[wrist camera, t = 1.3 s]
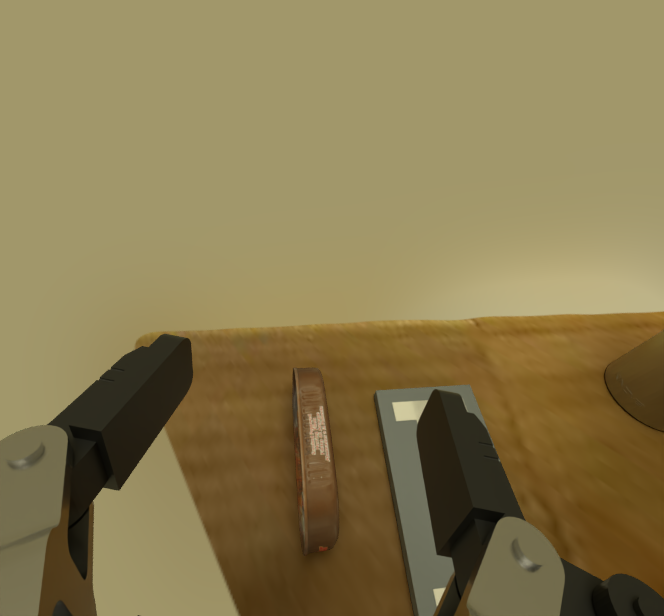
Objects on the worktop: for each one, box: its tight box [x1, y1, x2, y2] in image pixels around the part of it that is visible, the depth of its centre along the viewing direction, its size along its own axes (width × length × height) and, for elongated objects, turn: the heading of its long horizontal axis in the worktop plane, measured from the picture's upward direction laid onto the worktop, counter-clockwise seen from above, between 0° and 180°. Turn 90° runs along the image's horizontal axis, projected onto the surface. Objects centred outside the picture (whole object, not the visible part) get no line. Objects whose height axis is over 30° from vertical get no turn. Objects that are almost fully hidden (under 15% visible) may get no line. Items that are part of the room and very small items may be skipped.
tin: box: [293, 368, 339, 556], centre depth 27 cm, size 15×3×8 cm, turn 8°
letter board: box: [374, 385, 500, 616], centre depth 29 cm, size 11×20×2 cm, turn 5°
